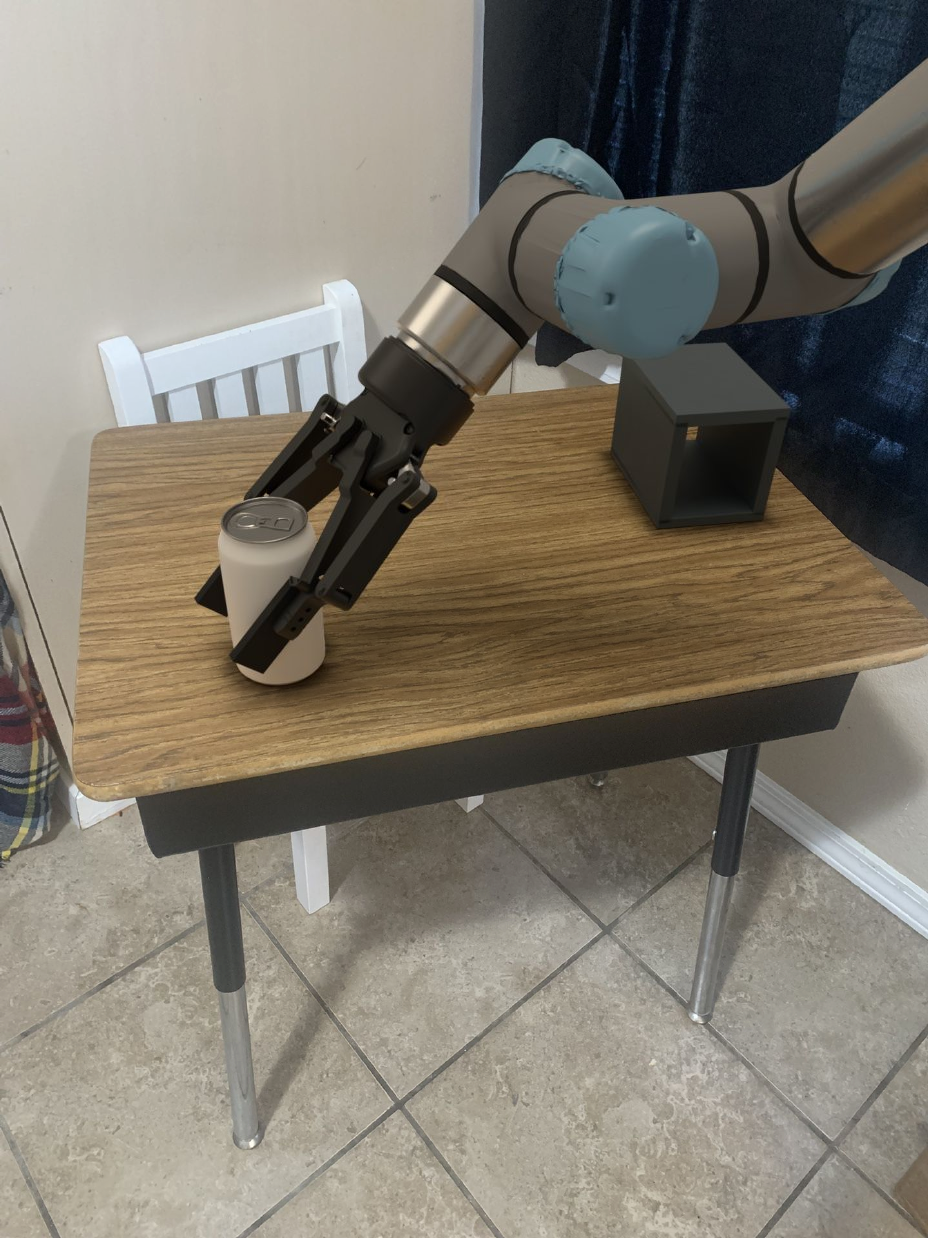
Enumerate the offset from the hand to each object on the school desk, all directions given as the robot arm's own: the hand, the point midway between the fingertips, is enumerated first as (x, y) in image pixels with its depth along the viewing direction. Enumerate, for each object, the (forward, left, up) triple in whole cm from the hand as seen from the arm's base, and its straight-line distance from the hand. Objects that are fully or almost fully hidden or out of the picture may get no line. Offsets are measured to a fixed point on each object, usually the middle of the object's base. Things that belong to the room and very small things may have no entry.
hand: (228, 634), depth 67 cm
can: (-1, -4, -4) cm, 5 cm away
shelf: (-3, -47, -4) cm, 47 cm away
